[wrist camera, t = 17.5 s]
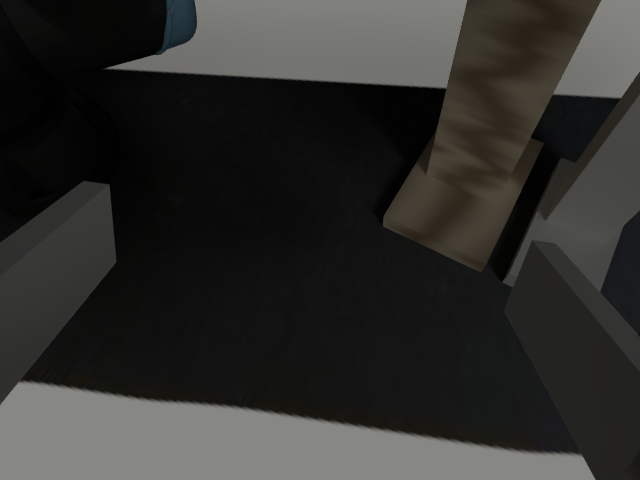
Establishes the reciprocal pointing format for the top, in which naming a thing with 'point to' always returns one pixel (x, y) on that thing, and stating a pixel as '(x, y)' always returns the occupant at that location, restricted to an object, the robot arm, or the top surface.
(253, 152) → the top surface
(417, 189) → the pedestal
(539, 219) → the stand
